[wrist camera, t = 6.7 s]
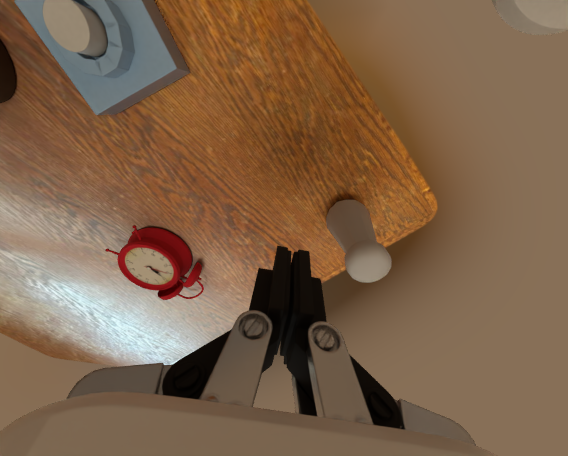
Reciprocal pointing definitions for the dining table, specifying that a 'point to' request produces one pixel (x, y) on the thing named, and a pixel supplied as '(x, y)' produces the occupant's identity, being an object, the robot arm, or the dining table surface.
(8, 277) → the dining table surface
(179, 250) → the alarm clock
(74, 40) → the round push button
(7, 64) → the olive oil
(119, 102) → the square base with collar
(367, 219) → the salt shaker
